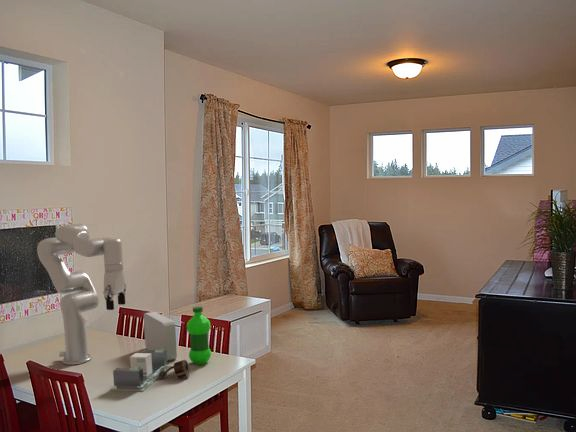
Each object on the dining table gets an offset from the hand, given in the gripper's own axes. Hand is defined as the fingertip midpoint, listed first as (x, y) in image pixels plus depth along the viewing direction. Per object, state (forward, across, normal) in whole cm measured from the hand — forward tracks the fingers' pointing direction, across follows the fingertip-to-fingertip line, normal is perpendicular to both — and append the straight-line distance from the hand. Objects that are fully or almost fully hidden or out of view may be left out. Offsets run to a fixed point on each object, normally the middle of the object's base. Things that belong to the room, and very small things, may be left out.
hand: (116, 306), depth 229 cm
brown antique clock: (+28, +5, +28) cm, 40 cm away
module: (+26, +7, +14) cm, 31 cm away
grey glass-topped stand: (+28, +8, +14) cm, 32 cm away
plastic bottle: (+28, -13, +32) cm, 45 cm away
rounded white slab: (+28, -24, +8) cm, 38 cm away
